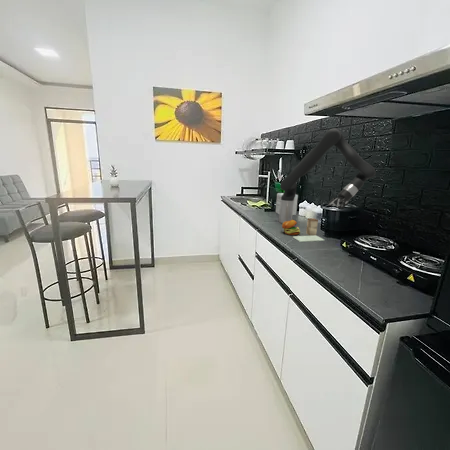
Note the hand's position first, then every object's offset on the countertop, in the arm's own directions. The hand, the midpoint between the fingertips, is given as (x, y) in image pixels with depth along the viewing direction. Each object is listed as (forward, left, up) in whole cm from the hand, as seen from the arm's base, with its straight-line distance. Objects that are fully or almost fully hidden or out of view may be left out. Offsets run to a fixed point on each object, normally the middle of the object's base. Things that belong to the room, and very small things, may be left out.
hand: (329, 211), depth 158 cm
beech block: (-5, -9, -15) cm, 18 cm away
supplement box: (-58, +23, -15) cm, 64 cm away
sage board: (+1, -19, -15) cm, 25 cm away
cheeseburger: (-12, -20, -15) cm, 28 cm away
